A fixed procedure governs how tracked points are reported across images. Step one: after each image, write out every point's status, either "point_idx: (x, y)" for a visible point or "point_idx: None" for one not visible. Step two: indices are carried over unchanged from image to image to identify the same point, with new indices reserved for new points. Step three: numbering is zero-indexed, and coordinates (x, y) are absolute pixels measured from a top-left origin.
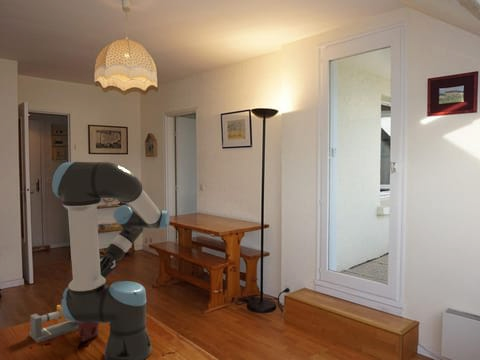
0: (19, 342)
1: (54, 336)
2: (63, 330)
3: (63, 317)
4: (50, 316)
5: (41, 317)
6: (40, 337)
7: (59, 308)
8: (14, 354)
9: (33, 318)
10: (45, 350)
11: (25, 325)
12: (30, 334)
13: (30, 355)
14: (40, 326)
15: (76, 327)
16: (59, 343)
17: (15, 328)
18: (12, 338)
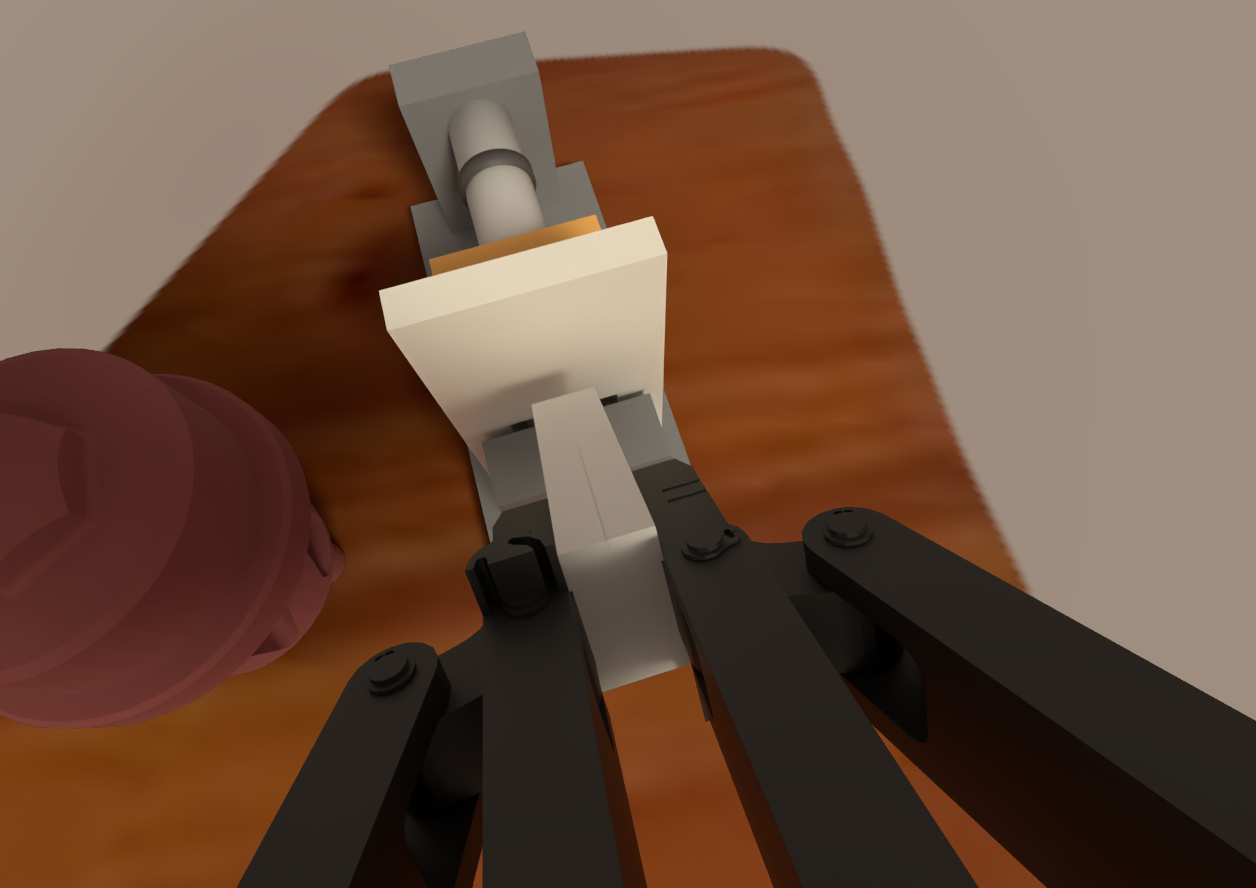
0: None
1: None
2: None
3: None
4: (468, 200)
5: (459, 124)
6: (435, 226)
7: (512, 246)
8: (331, 114)
9: (443, 61)
10: (255, 270)
11: (810, 152)
12: (559, 173)
13: (247, 191)
14: (426, 166)
15: (479, 493)
16: (304, 358)
17: (781, 98)
18: (600, 92)
